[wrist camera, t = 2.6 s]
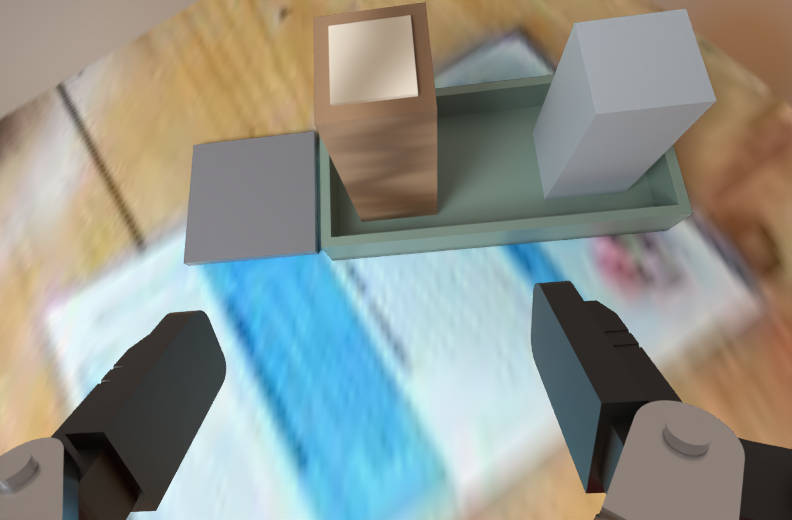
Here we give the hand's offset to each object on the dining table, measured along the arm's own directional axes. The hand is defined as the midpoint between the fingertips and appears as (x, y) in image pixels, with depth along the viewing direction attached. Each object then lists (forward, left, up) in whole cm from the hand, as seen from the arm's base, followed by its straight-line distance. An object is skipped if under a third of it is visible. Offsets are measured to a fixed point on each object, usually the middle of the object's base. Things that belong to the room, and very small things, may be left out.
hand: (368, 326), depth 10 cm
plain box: (-3, +17, -15) cm, 23 cm away
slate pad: (-15, -2, -16) cm, 22 cm away
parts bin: (-6, +12, -16) cm, 20 cm away
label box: (-10, +7, -15) cm, 19 cm away
